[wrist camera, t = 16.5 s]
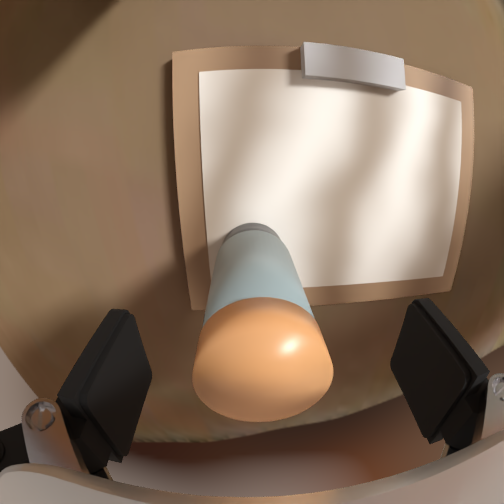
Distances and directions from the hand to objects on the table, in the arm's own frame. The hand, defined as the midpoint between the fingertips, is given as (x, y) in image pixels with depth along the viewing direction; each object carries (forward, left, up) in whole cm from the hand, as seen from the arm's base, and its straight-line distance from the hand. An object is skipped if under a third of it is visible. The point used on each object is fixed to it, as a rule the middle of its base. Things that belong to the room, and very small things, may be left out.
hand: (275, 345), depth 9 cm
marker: (0, 0, -9) cm, 9 cm away
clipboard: (-5, -4, -9) cm, 11 cm away
